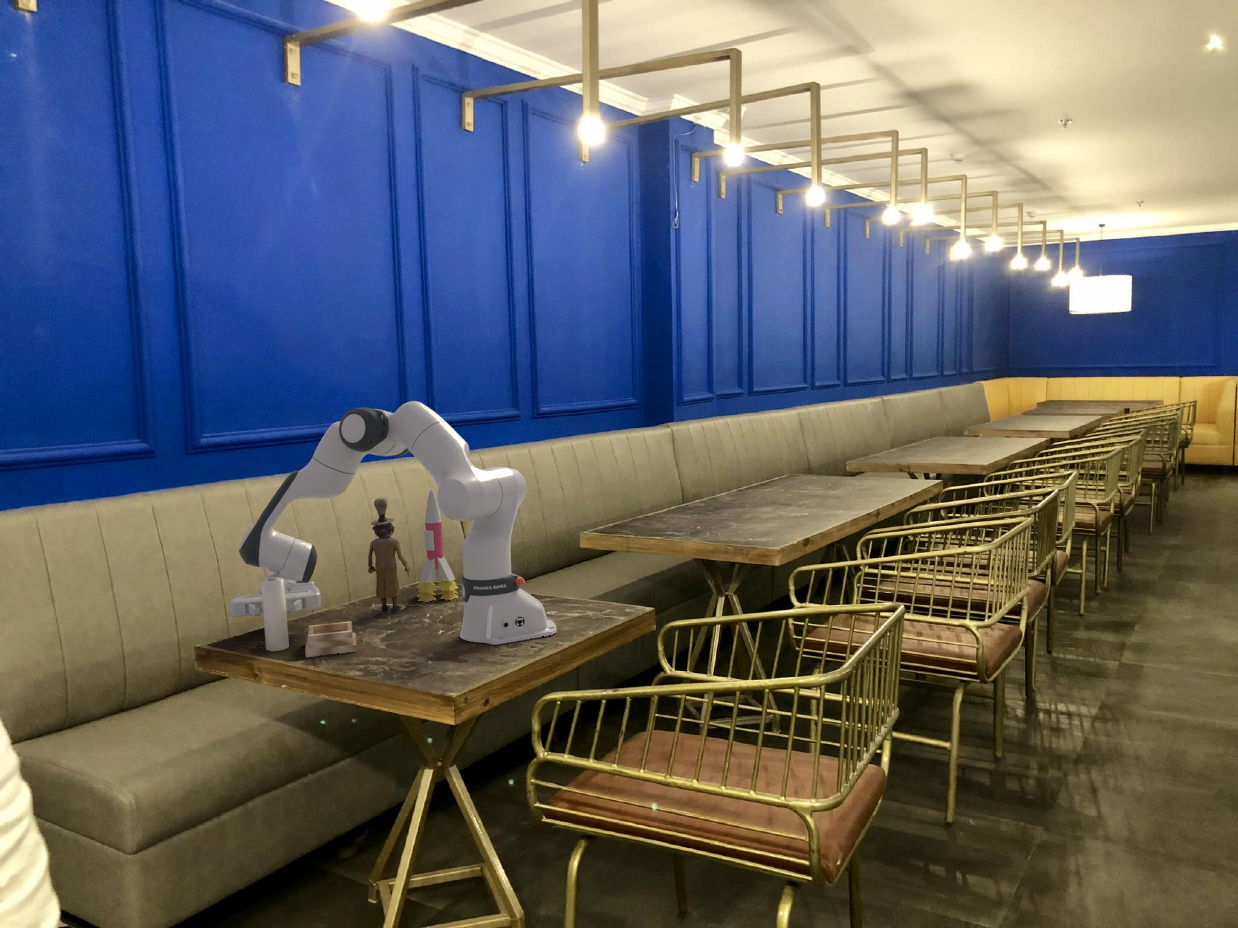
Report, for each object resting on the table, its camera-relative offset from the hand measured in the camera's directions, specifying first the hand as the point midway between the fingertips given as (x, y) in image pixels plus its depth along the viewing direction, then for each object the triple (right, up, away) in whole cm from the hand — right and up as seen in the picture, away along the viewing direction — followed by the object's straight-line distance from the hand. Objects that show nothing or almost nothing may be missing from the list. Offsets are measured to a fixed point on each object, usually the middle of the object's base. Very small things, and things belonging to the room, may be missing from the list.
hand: (274, 610), depth 226 cm
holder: (+13, -9, 0) cm, 15 cm away
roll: (0, -9, +2) cm, 9 cm away
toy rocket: (+29, -3, +46) cm, 54 cm away
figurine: (+19, -5, +33) cm, 39 cm away
